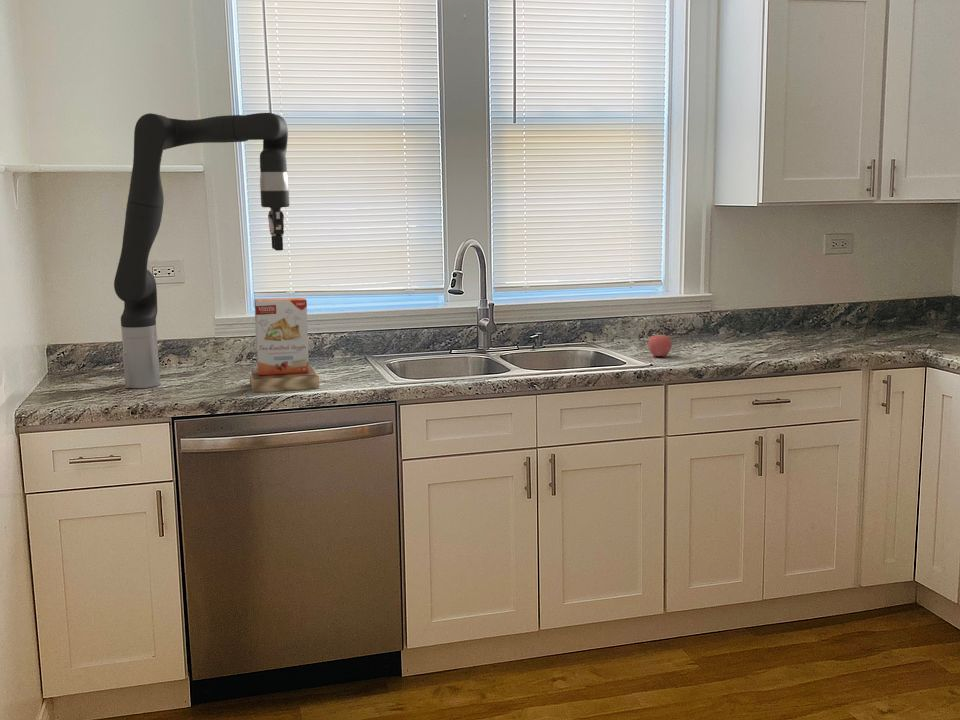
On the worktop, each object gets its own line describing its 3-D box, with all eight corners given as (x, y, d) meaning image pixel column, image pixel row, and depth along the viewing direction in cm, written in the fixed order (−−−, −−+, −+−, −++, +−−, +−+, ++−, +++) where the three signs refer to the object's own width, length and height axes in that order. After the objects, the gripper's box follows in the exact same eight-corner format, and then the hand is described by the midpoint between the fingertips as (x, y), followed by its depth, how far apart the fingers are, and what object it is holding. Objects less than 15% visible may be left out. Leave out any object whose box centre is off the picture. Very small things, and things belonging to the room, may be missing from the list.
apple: (647, 358, 296) (647, 333, 295) (648, 354, 303) (649, 330, 302) (670, 359, 294) (671, 334, 293) (671, 355, 301) (672, 331, 300)
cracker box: (258, 376, 254) (254, 300, 250) (257, 372, 260) (253, 298, 256) (310, 373, 258) (306, 298, 254) (307, 369, 263) (304, 296, 260)
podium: (252, 392, 251) (252, 379, 250) (250, 383, 263) (249, 370, 262) (319, 388, 256) (318, 374, 255) (313, 379, 268) (313, 366, 267)
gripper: (291, 189, 244) (294, 250, 247) (286, 189, 257) (288, 247, 260) (262, 189, 242) (265, 251, 245) (258, 189, 255) (261, 248, 258)
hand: (277, 249), depth 253 cm, fingers open, 8 cm apart
